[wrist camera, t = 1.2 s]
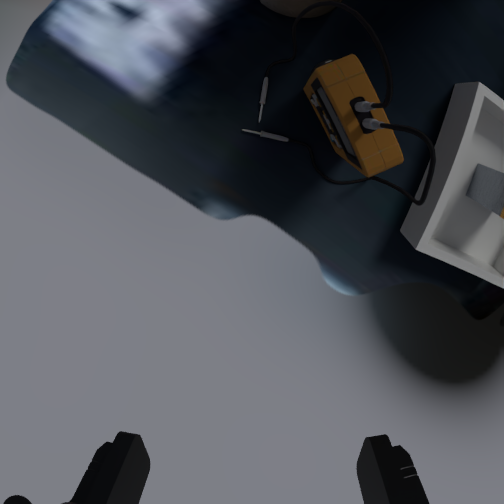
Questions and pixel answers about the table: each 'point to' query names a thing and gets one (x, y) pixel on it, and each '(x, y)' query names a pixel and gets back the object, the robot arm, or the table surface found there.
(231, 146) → the table surface
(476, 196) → the block
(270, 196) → the table surface
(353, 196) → the table surface
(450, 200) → the white tray
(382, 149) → the multimeter
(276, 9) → the pillar candle
